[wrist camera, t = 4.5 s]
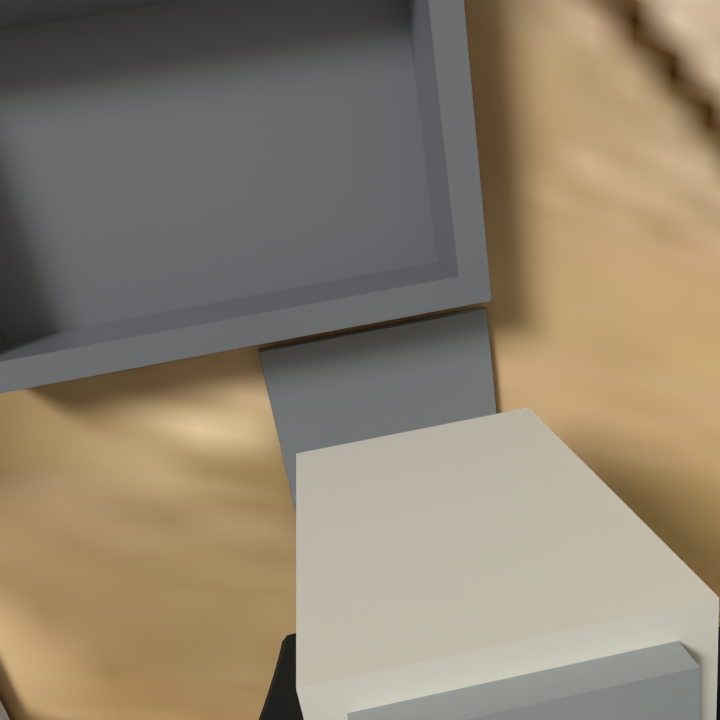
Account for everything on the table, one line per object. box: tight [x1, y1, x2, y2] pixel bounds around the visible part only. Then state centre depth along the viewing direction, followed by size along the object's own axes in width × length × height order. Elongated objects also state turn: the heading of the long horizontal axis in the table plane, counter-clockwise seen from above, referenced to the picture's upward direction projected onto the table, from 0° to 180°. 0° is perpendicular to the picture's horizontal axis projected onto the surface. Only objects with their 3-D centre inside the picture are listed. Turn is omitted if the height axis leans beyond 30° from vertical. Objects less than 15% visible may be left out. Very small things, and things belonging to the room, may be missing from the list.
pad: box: [259, 307, 496, 510], centre depth 19 cm, size 7×7×1 cm
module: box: [296, 408, 719, 720], centre depth 10 cm, size 5×5×6 cm
